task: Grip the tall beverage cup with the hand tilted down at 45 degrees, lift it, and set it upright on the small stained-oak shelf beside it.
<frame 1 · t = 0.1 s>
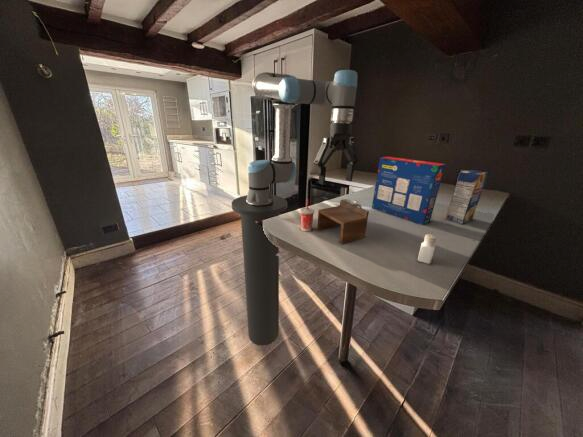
hand: (335, 182, 89), 23 cm above the table, tool pointing down, fingers open, 13 cm apart
shelf: (340, 232, 100), on the table
cup: (349, 216, 118), on the table
beverage cup: (306, 229, 103), on the table
blue flat box: (398, 214, 123), on the table
juice carton: (458, 219, 118), on the table
pepper shaker: (423, 260, 81), on the table
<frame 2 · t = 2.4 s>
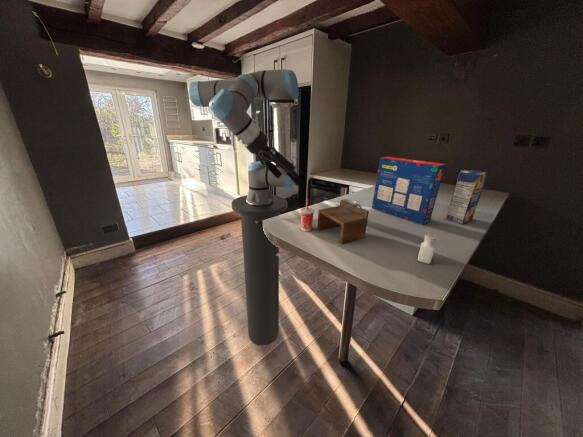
hand: (288, 179, 89), 23 cm above the table, tool tilted 45°, fingers open, 13 cm apart
nothing on the table moved.
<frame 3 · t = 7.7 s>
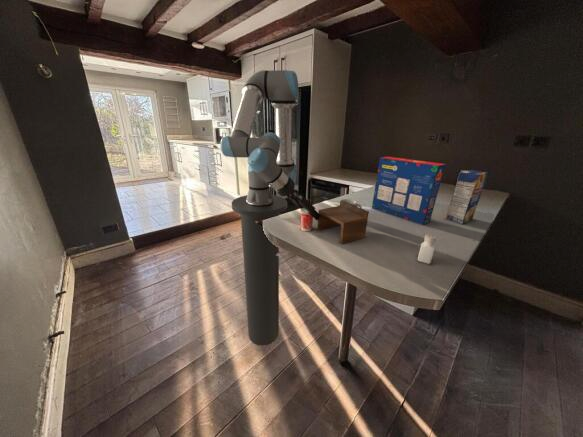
hand: (313, 215, 102), 6 cm above the table, tool tilted 45°, fingers closed on beverage cup, 6 cm apart
beverage cup: (306, 229, 103), on the table, touching gripper
everything else where it was.
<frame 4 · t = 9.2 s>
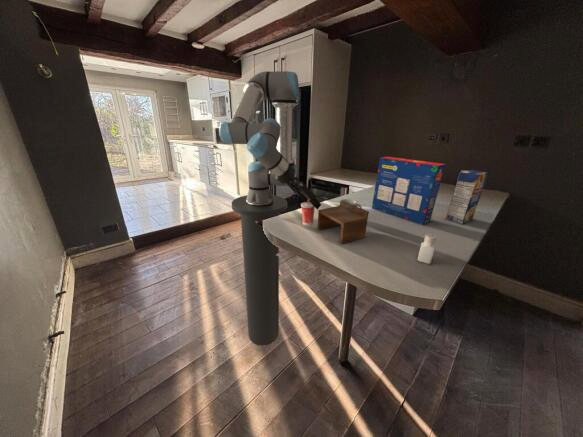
hand: (314, 204, 100), 11 cm above the table, tool tilted 45°, fingers closed on beverage cup, 6 cm apart
beverage cup: (307, 223, 102), point 2 cm above the table, touching gripper
everything else where it was.
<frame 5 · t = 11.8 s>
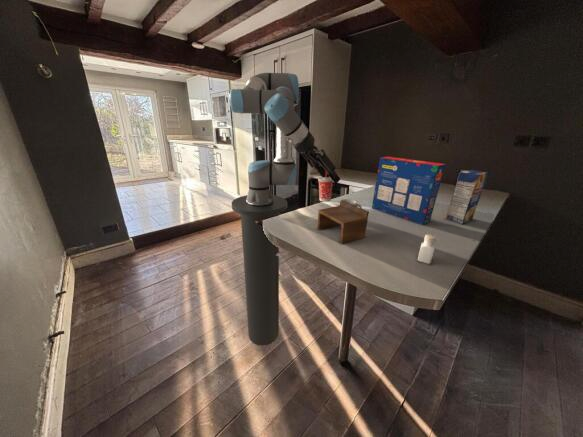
hand: (332, 179, 94), 22 cm above the table, tool tilted 45°, fingers closed on beverage cup, 6 cm apart
beverage cup: (325, 200, 96), point 14 cm above the table, touching gripper
everything else where it was.
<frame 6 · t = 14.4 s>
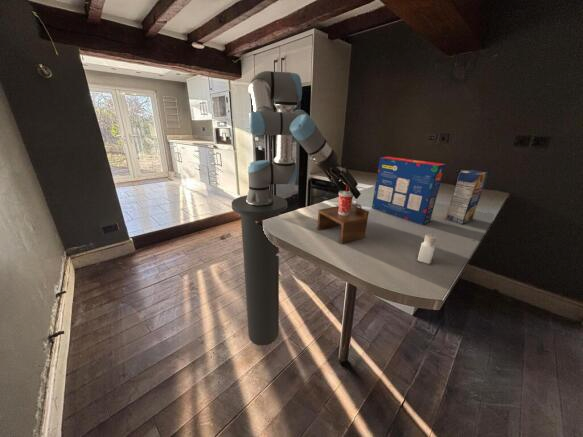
hand: (352, 194, 95), 17 cm above the table, tool tilted 45°, fingers closed on beverage cup, 6 cm apart
beverage cup: (343, 214, 96), point 9 cm above the table, touching gripper, shelf
everything else where it was.
when the fingers open (17 cm above the table, at t = 14.7 s): beverage cup stays where it is, resting on shelf.
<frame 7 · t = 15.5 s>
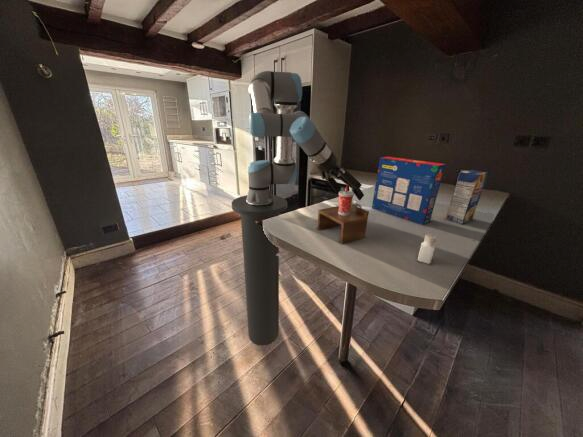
hand: (349, 193, 95), 17 cm above the table, tool tilted 45°, fingers open, 13 cm apart
beverage cup: (343, 214, 96), point 9 cm above the table, touching shelf
everything else where it was.
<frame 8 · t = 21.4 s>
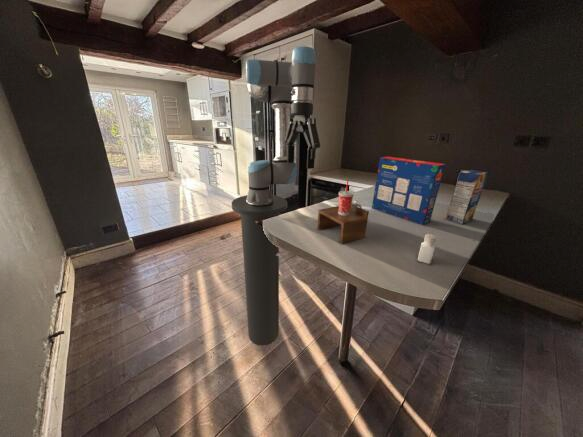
hand: (299, 165, 87), 29 cm above the table, tool pointing down, fingers open, 13 cm apart
nothing on the table moved.
at the end: beverage cup inside the target area on the shelf (0.6 cm from its centre), point 8.8 cm above the shelf's base; beverage cup tilted 0°; the gripper is holding nothing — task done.
